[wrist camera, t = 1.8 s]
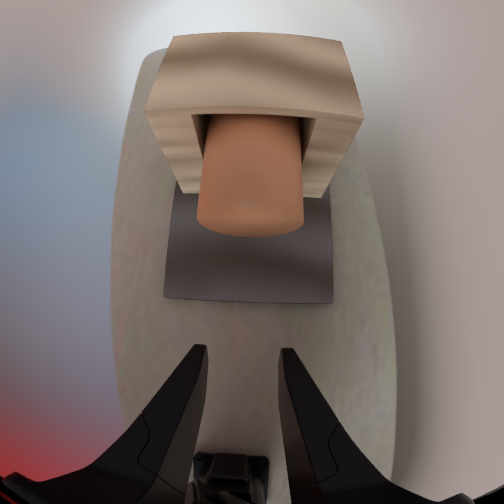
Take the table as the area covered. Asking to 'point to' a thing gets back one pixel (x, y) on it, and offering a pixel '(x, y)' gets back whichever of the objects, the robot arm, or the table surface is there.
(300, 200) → the knob
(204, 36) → the knob mount
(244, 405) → the table surface
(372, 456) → the table surface
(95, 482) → the robot arm
